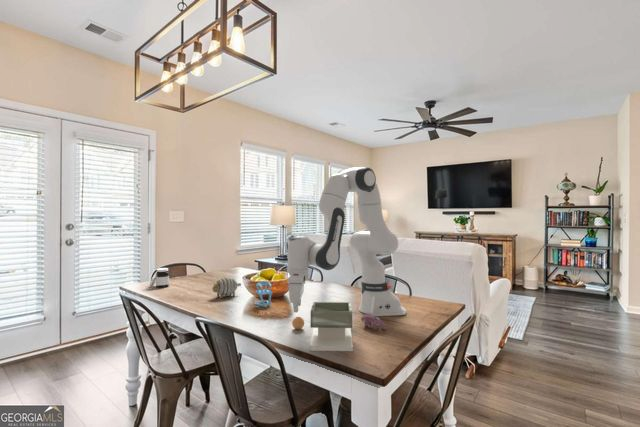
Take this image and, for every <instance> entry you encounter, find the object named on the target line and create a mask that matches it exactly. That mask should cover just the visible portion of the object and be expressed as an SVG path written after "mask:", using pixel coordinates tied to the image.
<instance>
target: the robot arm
mask: <svg viewBox="0 0 640 427" xmlns="http://www.w3.org/2000/svg"><path fill="white" fill-rule="evenodd" d="M349 193H356V194H357V206H358V209H357V210H358V217H359V220H360V222H361V224H363V225H365V226H366V228H367V229H368V230H360V231H355V232H353V233H352V235H351V237H350V239H349V244H350V247H351V249H352V250H353V251H355V253H356V255H357V257H358V260H359V261H360V265H361V282H360V291H361V297H360V298H361V299H360V304H359V306H358V307H359V308H358V311H359V312H360V313H363V314H364V315H365V314H367V315H374V316H376V317H390V316H391V317H392V316H405V315H406V314H407V309H406V308H405V307H404V306H402V302H401V299H400V298H399V297H398V296H397V295H396V294H395V293H394V292H392V291H391V290H390V289H391V288H392V286H391V284H390V283H388V282H386V267H385V265H384V263H383V262H381V261H380V260H379V258H378V256H377V255H382V256H384V255H385V256H387V255H392V254H394V253H396V252H397V250H398V248H399V240H398V237H397V236H396V234H394V233H393V232H392V231H391V230H390V228H389V227H388V226H387V224H386V222H385V219H384V216H383V211H382V210H383V209H382V201H381V200H382V199H381V194H380V190H379V187H378V184H377V177H376V174H375V172H374V170H373V169H372V168H370V167H367V166H359V167H358V166H356V167H350V168H347V169H342V170H340V171H338V172H337V173H334V174H331V175H330V176H329V177H328V180H326V184H325V185H324V187H323V190H322V193H321V196H320V199H319V205H318V207H319V210H320V213H321V214H322V216H324V217H325V218H326V219H327V221H328V227H327V232H326V237H325V241H324V242H323V243H319V242H315V241H314V240H312V239H310V238H309V237H308V236H307V235H296V236H293V237H290V239H289V240H288V244H287V251H286V252H287V255H286V256H287V257H286V258H287V267H286V282H287V284H288V294H289V295H288V298H289V302H290V304H292V306H293V307H292V308H293V313H298V312H299V307H300V306H301V305H302V297H303V294H304V292H305V284H306V282H307V281H308V280H309V266H314V267H318V268H320V269H322V270H325V271H331V270H333V269H335V268H336V267H337V265H338V264H339V262H340V259H341V243H342V238H343V237H342V236H343V231H344V225H345V220H346V217H345V206H346V201H347V198H348V194H349Z"/></svg>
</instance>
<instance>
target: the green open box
mask: <svg viewBox="0 0 640 427" xmlns="http://www.w3.org/2000/svg"><path fill="white" fill-rule="evenodd" d="M313 328H351V329H353V310H352V303H351V302H348V301H347V302H345V301H343V302H342V301H338V302H337V301H334V302H333V301H313V303H312V305H311V309H310V329H313Z"/></svg>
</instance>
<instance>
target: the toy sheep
mask: <svg viewBox="0 0 640 427" xmlns="http://www.w3.org/2000/svg"><path fill="white" fill-rule="evenodd" d="M241 286H242V283H240V282H239V283H238V282H237V281H236V279H235V278H233V277H226V276H225V277H222V278H220V279H217V281H216V283H213V286H212V291H213V293H217V294H216V297H217V298H220V299H223V297H224V296H225V297H228V296H232V297H235V296H236V295H235V294H236V290H237V289H238V287H241Z"/></svg>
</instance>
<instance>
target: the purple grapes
mask: <svg viewBox="0 0 640 427" xmlns="http://www.w3.org/2000/svg"><path fill="white" fill-rule="evenodd" d="M360 320H361V322H362V323H363V325H364V324H365V326H366V327H368V328H370V329H371V328H373V329H374V330H375V331H376V330H378V329H381V330H383V331H384V330H386V329H387V325H386V323H385V322H383V320H382V319H381V318H380V316H374V315H370V314H365V313H364V315H363V316H361V318H360Z"/></svg>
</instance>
